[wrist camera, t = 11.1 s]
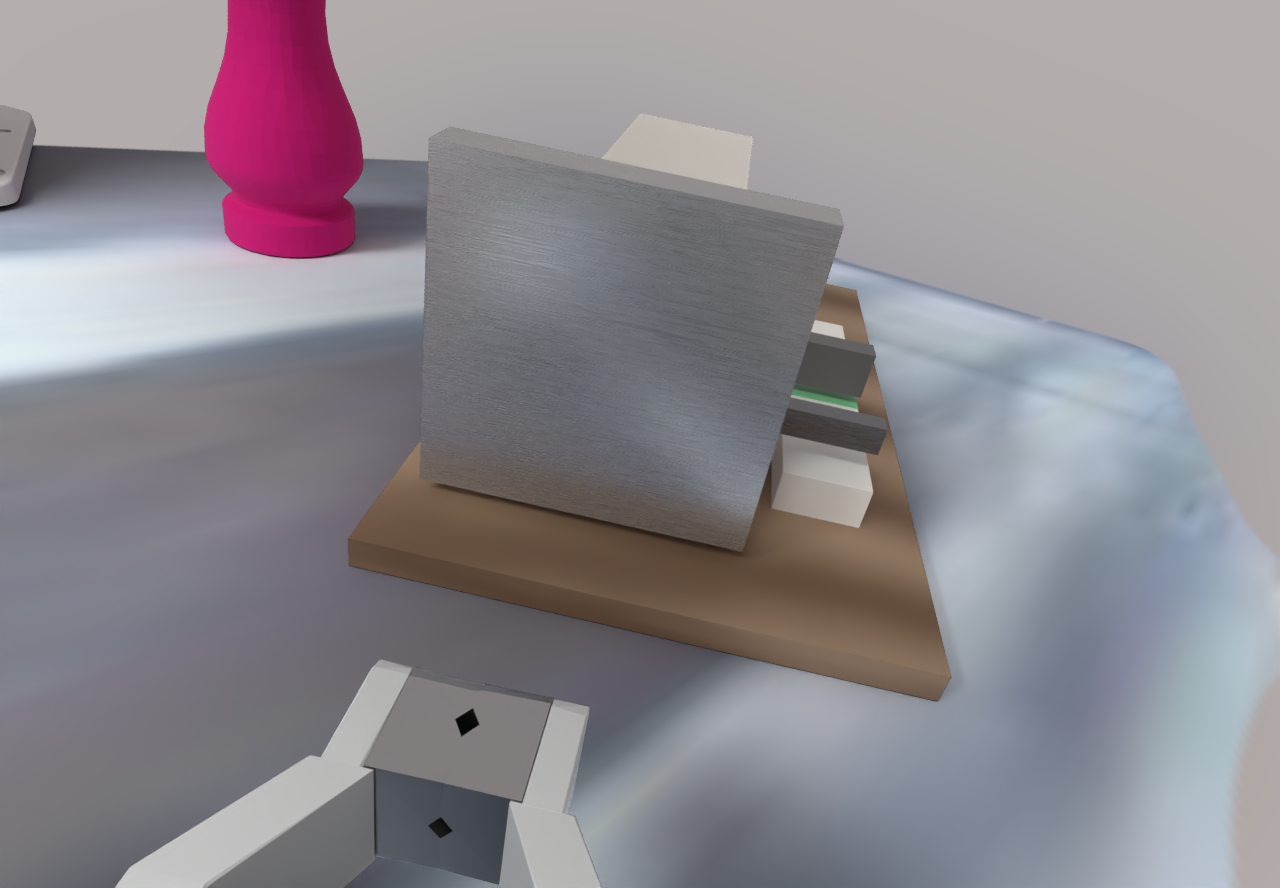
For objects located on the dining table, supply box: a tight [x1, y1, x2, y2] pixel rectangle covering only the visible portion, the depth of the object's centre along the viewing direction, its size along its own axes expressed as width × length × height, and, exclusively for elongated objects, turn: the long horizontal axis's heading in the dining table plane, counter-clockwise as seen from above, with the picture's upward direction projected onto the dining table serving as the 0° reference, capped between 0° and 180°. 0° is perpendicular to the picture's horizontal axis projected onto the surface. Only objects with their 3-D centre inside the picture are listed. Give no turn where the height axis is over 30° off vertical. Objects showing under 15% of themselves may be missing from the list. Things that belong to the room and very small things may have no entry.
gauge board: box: [348, 284, 951, 701], centre depth 35 cm, size 30×17×1 cm, turn 172°
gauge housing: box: [602, 114, 753, 190], centre depth 39 cm, size 12×6×8 cm, turn 172°
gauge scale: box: [771, 320, 873, 528], centre depth 33 cm, size 14×3×2 cm, turn 172°
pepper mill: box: [204, 0, 363, 258], centre depth 37 cm, size 7×7×20 cm
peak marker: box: [795, 332, 876, 398], centre depth 31 cm, size 1×3×2 cm, turn 81°
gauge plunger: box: [419, 127, 888, 552], centre depth 30 cm, size 20×14×10 cm
